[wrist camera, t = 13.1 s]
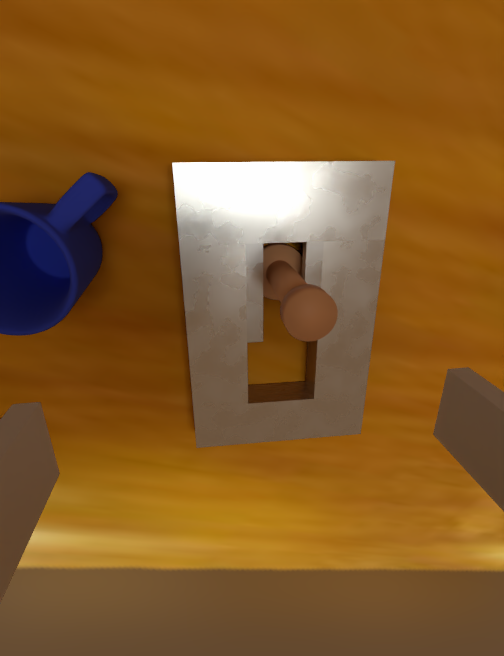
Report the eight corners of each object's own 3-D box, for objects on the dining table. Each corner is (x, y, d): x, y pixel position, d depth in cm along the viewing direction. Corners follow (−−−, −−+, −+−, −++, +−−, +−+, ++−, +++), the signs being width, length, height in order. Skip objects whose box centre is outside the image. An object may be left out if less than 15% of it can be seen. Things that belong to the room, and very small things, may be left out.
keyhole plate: (349, 414, 42) (360, 433, 38) (197, 426, 40) (196, 447, 37) (376, 162, 32) (394, 160, 28) (175, 164, 30) (172, 162, 27)
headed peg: (250, 296, 35) (271, 354, 24) (249, 243, 33) (271, 279, 22) (301, 294, 35) (346, 350, 24) (304, 241, 33) (353, 275, 22)
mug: (165, 217, 31) (148, 234, 22) (72, 309, 33) (21, 360, 24) (87, 135, 28) (29, 116, 19) (-10, 242, 31) (-103, 270, 21)
